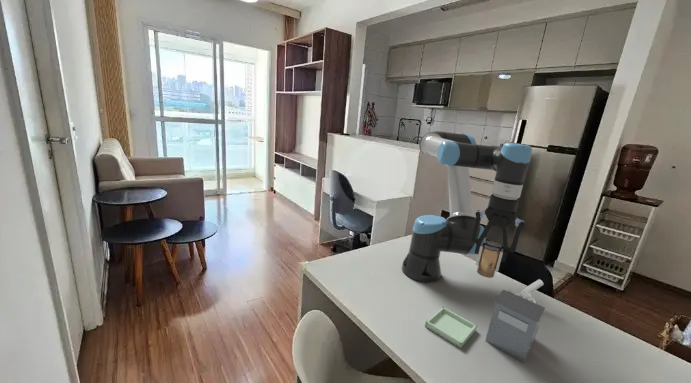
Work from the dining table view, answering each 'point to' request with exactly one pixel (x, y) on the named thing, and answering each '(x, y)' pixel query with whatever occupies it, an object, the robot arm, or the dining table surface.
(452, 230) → the robot arm
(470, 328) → the tray
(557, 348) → the dining table surface
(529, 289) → the hook
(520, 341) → the box
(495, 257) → the amber cylinder
